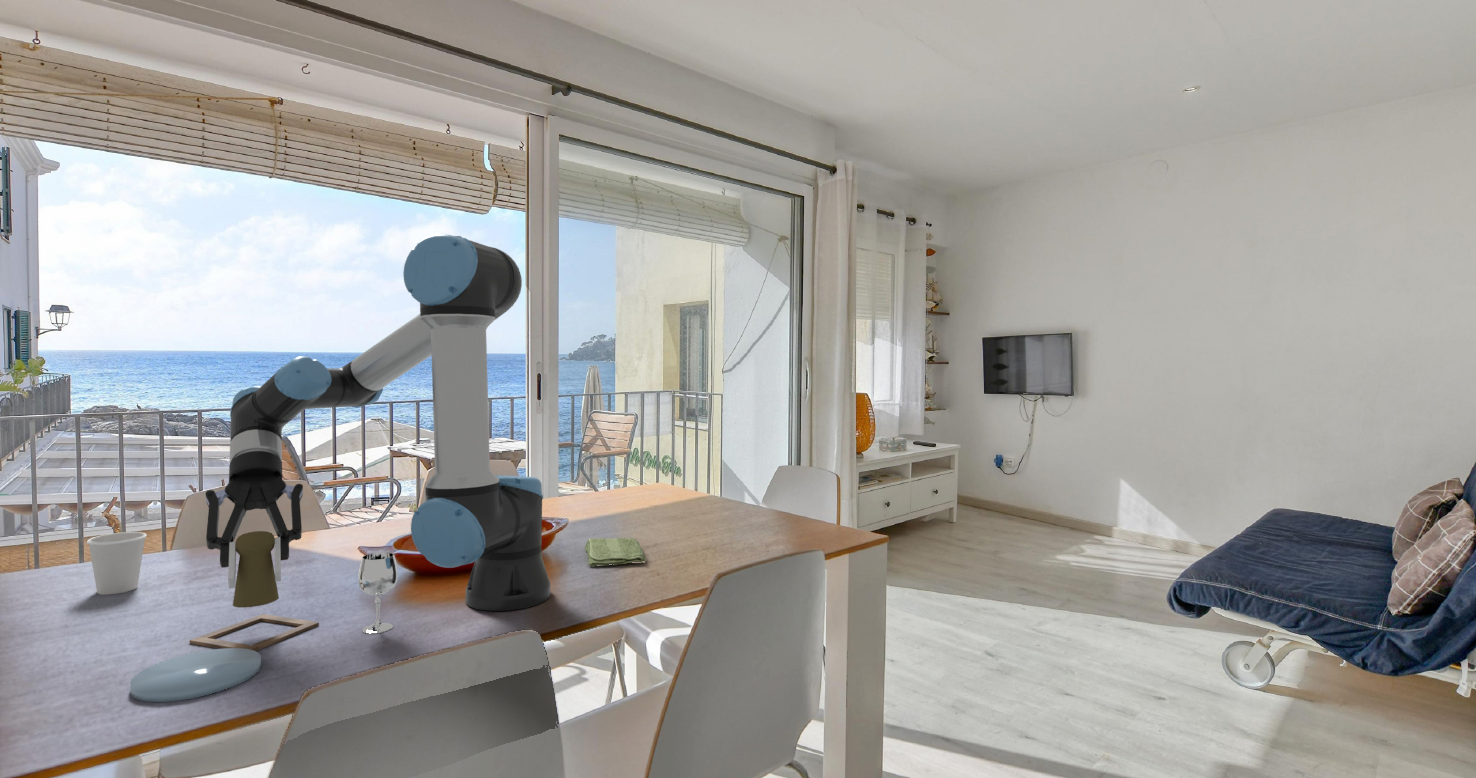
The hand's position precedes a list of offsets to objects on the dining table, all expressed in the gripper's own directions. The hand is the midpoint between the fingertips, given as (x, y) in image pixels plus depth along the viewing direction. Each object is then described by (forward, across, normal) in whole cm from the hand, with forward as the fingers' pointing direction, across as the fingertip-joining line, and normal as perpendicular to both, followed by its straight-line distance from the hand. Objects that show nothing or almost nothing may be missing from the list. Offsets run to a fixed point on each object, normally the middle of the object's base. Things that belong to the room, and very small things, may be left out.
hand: (255, 579), depth 106 cm
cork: (+1, 0, -6) cm, 6 cm away
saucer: (+14, +6, +1) cm, 16 cm away
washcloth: (-5, -68, -20) cm, 71 cm away
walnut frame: (+4, 0, -9) cm, 10 cm away
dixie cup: (-24, +22, -36) cm, 49 cm away
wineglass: (+10, -16, -5) cm, 20 cm away
